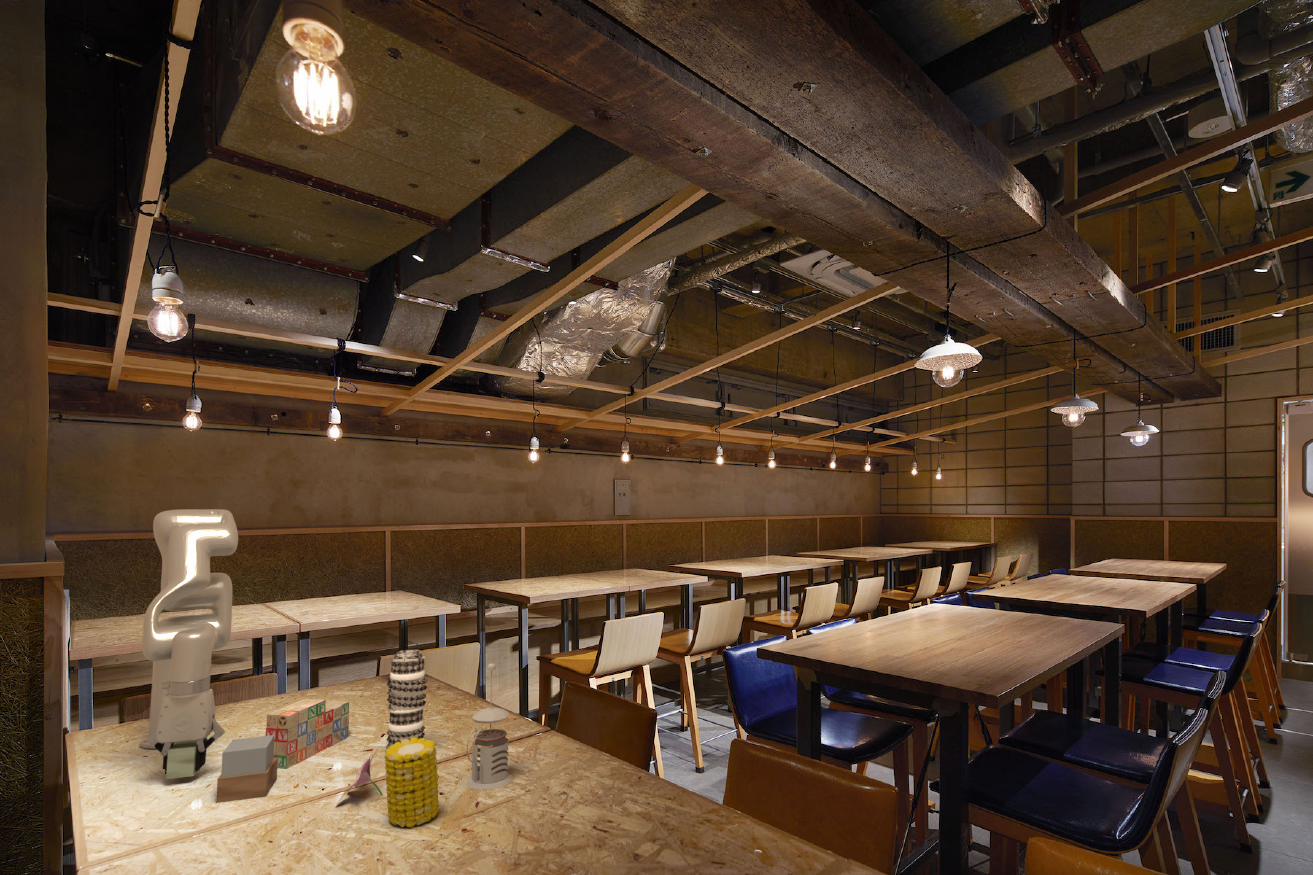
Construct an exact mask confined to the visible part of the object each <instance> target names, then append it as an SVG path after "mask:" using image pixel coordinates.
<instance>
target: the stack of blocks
mask: <svg viewBox="0 0 1313 875" xmlns="http://www.w3.org/2000/svg"><path fill="white" fill-rule="evenodd" d="M349 726H350V701H347V700H346V701H344V700H327V701H326V699H319V698H317V699H316V698H315V699H314V698H303V699H300V700H299V701H296V702H293V703H291V704H288V705H286V706H284V707H282V708H279V709H276V710H273V711H271V712H269V713H267V714H266V728H265V736H270V735H274V754H273V758H276V757H278V763H277V769H280V770H288V769H289V768H292V767H293V766H296V765H298V764H300V763H301V762H303V761H305V760H307V759H309V758H311V756H312V755H314V756H315V755H317V754H319V753H320V751H321V752H323V751H325V750H326V749H328V748H330V747H331V746H334V745H336V744H338V743H340V742H342V741H344V740H346V739H347V737H348V738H349V731H350V730H349ZM343 739H344V740H343ZM327 747H328V748H327ZM322 750H323V751H322ZM316 753H317V754H316ZM312 757H313V756H312Z"/></svg>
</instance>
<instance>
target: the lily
mask: <svg viewBox="0 0 1313 875" xmlns="http://www.w3.org/2000/svg"><path fill="white" fill-rule="evenodd" d="M380 747H381V745H379V746H378V748H377V749H376V750H375V751H372V752H371V753H370V756H369V758H366V759H365V761H364V762H363V764H361V766H360V767H359V769H357V770H355V771H354V770H353V771H352V772H351V774H354V775H356V776H355V778H356V779H355V781H354V782H353V783H352V785H351V786H350V787H349V788H348V789H347V790H345V792H344V793H343V794H342V796H341V797H340V799H339V800H338V802H337V803H336V806H339V803H340V802H341V800H342V799H343V797H344V796H345V795H346V794H347V793H349V792H350V790H351V789H354V788H356V787H358V786H361V785H364V784H366V783H372V784H373V785H374V786H375V788H376V789H377V791H378V792H379V794H380V795H381V796H383V795H384V794H383V792H382V791H381V789H380V788H379V786H378V785H377V784H376V783H375V782H374V781H373V780H372V778H371V765H372V764H371V763H372V760H373V758H374V757H375V755H376V753H377V752H378V750H379V748H380Z"/></svg>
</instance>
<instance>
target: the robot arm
mask: <svg viewBox="0 0 1313 875" xmlns="http://www.w3.org/2000/svg"><path fill="white" fill-rule="evenodd" d="M152 530H153V536H154V540H155V542H156V545H157V548H158V550H159V553H160V555H161V556H160V557H161V560H162V561H161V562H162V564H161V578H160V579H161V580H160V592H159V593H158V594H157V595H156V596H155V597H154V598H153V599H152V601H151V602H150V603H149V605H148V607H147V609H146V611H145V613H144V617H143V622H142V624H143V625H142V637H141V638H142V643H141V644H142V646H141V647H142V654H143V657H144V658H145V659H146V660H149V661H152V675H151V676H152V680H151V691H150V692H151V693H150V694H151V695H150V709H149V720H148V721H149V723H148V735H146V736H145V737H143V738H142V739H141V740H140V743H139V746H140V747H141V748H143V749H147V750H148V749H149V750H151V749H154V750H155V749H156V750H157V751H158V752H160V753H161V754H160V755H161V756H163V757H162V758H163V760H162V770H164V775H166V773H167V758H168V750H169V749H170V748H171V747H172V746H173V745H174V744H175V743H177V742H186V741H196V743H197V746H198V752H197V753H196V760H195V771H197V772H199V771H200V770H201V769H202V768H203V767H204V765H205V764H206V760H207V749H208V748H209V747H210V746H211V745H212V744H213V743H214V742H215V741H217V740H218V739H220V738H221V737H222V736H223V735H224V734H225V732H226V731H225V729H224V728H223V727H222V726H221V725H220V724H219V723H218V721H217V720H216V707H215V706H216V705H215V703H216V702H215V696H214V689H213V688H210V686H211V670H212V656H213V655H212V654H213V650H214V649H215V650H216V649H221V648H223V647H225V646H227V645H229V644H228V643H229V642H230V640H231V634H232V622H233V621H232V616H233V583H232V579H231V577H230V576H229V575H228V574H227V573H225V572H224V573H223V572H211V557H221V556H222V557H223V556H225V557H226V556H231V555H233V554H234V553H236V550H237V548H238V545H239V532H238V528H237V524H236V520H235V519H234V515H233V513H232V512H231V511H230V510H228V509H223V508H222V509H219V508H217V509H215V508H214V509H213V508H212V509H211V508H209V509H208V508H206V509H205V508H204V509H198V508H196V509H195V508H193V509H192V508H191V509H189V508H187V509H186V508H185V509H184V508H183V509H170V510H164V511H161V512H159V513H157V514H156V515H155V517H154V519H153V523H152ZM205 609H208V610H211V612H212V613H202V614H190V615H179V616H171V617H165V618H163V619H160V620H159V618H160V615H161V613H162V612H163V610H165V611H168V612H183V611H184V612H185V611H193V610H205ZM212 732H213V733H214V734H212V735H211V736H210V734H211V733H212ZM209 736H210V737H209ZM208 737H209V738H208Z"/></svg>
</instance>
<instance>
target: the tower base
mask: <svg viewBox="0 0 1313 875" xmlns="http://www.w3.org/2000/svg"><path fill="white" fill-rule="evenodd" d="M277 763H278V757H276V758H273V760H272V761H271V763H270V765H269V767H268V768H267V770H266V772H262V773H255V774H247V775H239V776H231V777H223V778H221V774H220V775H219V777H218V778H217V783H216V784H217V785H216V797H215V798H216V799H215V800H216V801H215V803H216V804H220V803H226V802H236V801H242V800H243V801H244V800H249V799H259V798H266V797H267V796H268V794H269V792H270V791H271V790H272V787H273V786H274V785H275V783H276V781H277V780H278V768H277Z"/></svg>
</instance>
